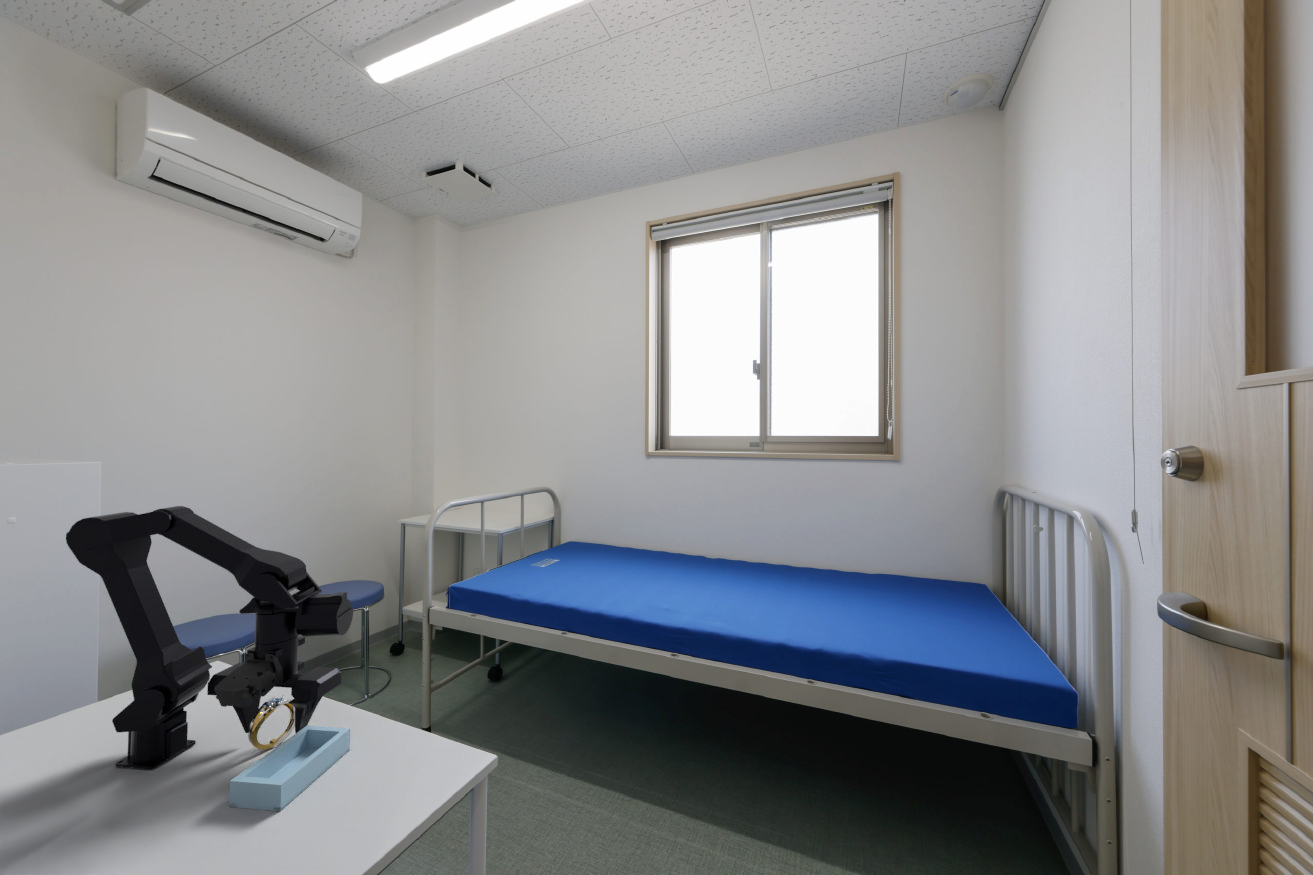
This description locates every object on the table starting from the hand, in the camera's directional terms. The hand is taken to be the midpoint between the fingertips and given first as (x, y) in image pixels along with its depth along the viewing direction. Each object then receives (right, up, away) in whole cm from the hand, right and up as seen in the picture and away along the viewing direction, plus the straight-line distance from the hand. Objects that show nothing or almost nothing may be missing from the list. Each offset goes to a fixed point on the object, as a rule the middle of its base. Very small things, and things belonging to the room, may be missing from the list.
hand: (274, 733), depth 78 cm
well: (+8, -2, -7) cm, 11 cm away
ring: (0, -2, 0) cm, 2 cm away
